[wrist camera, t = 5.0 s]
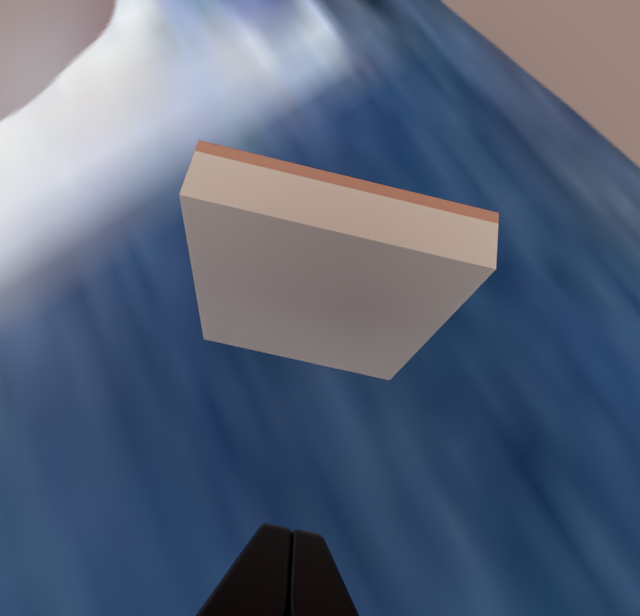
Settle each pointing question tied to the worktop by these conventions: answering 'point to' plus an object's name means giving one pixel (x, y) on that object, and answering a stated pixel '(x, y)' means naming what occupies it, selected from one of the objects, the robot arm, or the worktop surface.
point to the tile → (326, 260)
